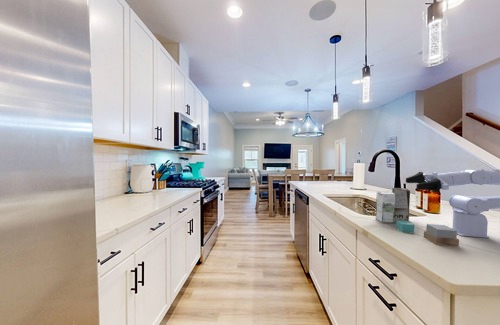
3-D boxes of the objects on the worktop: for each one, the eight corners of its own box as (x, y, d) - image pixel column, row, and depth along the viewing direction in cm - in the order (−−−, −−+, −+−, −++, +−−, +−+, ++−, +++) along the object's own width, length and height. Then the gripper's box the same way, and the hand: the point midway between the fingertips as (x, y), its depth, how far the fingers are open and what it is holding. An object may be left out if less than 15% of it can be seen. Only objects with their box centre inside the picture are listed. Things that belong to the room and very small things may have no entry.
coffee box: (409, 224, 94) (410, 190, 94) (392, 222, 98) (393, 189, 97) (406, 219, 102) (407, 188, 102) (390, 217, 106) (391, 187, 105)
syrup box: (387, 219, 102) (388, 191, 102) (394, 223, 96) (395, 193, 96) (375, 219, 103) (376, 191, 102) (381, 222, 97) (382, 193, 96)
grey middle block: (444, 232, 78) (444, 225, 78) (456, 238, 72) (456, 230, 72) (426, 231, 79) (426, 223, 79) (437, 237, 73) (437, 229, 73)
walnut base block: (444, 239, 79) (444, 232, 79) (458, 247, 72) (459, 239, 72) (423, 238, 80) (423, 230, 80) (435, 245, 73) (436, 237, 73)
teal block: (407, 229, 89) (408, 221, 89) (413, 233, 85) (414, 224, 84) (396, 228, 90) (396, 220, 90) (401, 232, 85) (402, 224, 85)
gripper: (435, 166, 91) (401, 170, 94) (462, 176, 77) (422, 180, 80) (435, 180, 93) (402, 184, 95) (461, 193, 79) (422, 196, 81)
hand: (411, 183), depth 88 cm, fingers open, 7 cm apart
